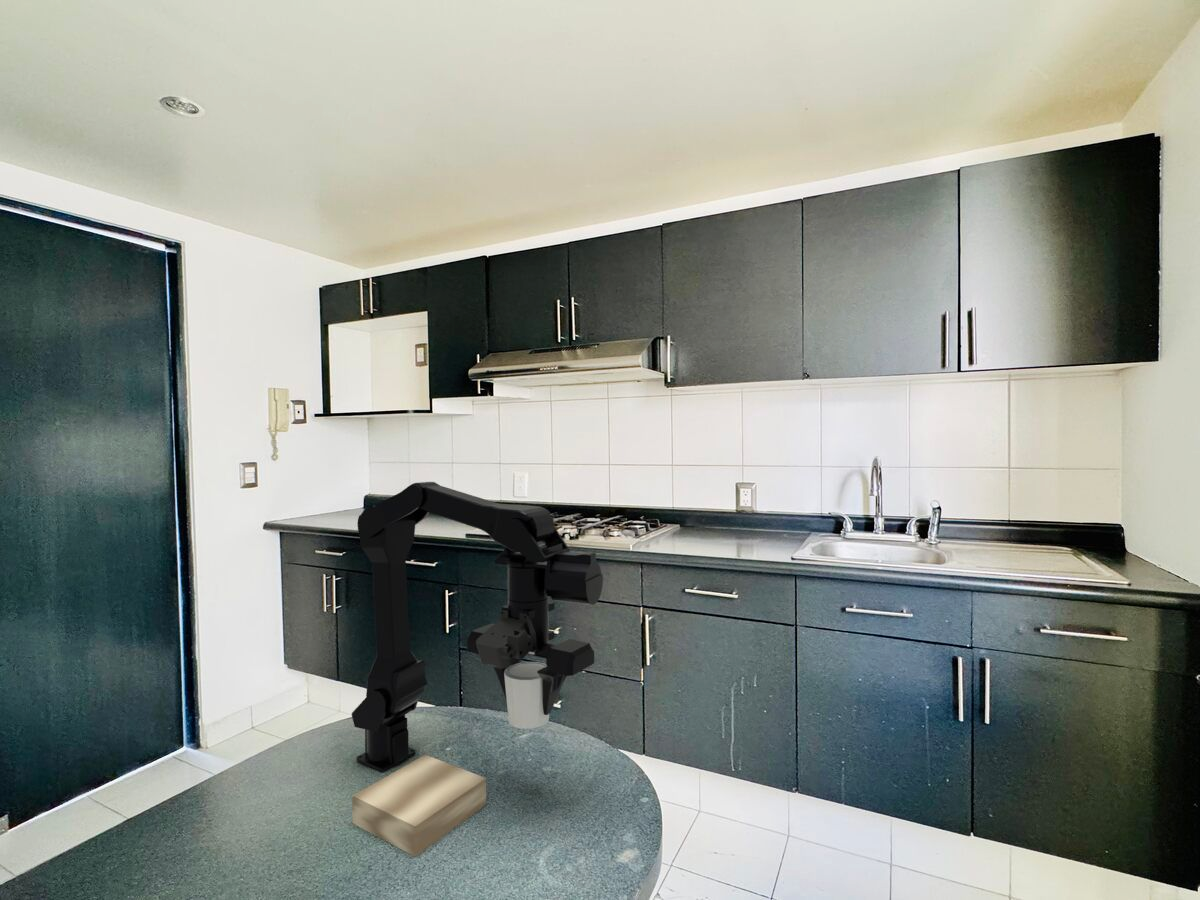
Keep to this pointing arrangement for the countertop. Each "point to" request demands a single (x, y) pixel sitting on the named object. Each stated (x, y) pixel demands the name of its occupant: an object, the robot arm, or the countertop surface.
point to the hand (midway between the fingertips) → (528, 708)
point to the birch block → (419, 803)
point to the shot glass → (525, 695)
